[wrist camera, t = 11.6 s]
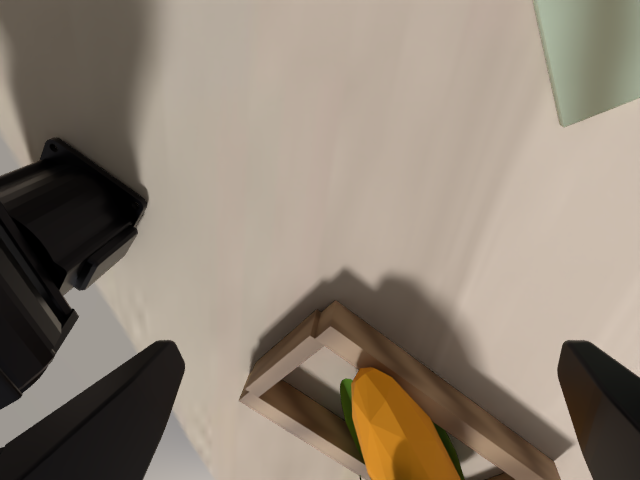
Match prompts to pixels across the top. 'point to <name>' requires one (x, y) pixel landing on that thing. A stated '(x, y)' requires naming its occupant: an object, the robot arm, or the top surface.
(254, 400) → the cob rest
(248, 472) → the top surface
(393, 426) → the corn
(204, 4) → the top surface
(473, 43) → the top surface
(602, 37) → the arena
